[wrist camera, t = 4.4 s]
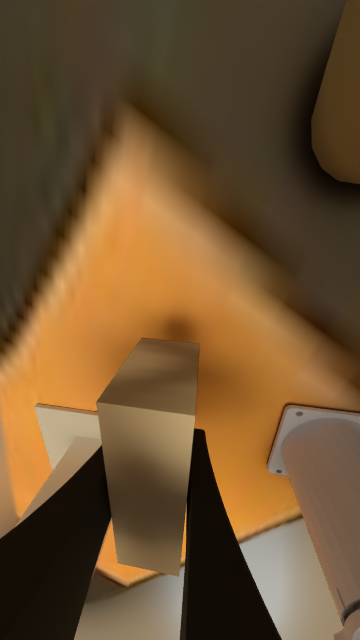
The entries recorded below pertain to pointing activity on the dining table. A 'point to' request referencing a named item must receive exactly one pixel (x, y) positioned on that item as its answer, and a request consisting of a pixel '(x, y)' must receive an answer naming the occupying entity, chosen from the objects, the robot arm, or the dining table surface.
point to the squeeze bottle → (340, 102)
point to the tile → (66, 472)
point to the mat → (64, 428)
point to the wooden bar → (150, 451)
